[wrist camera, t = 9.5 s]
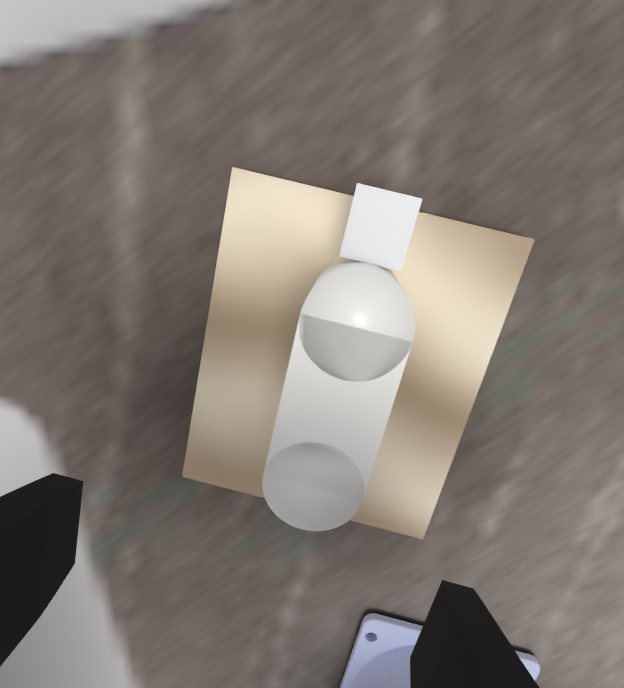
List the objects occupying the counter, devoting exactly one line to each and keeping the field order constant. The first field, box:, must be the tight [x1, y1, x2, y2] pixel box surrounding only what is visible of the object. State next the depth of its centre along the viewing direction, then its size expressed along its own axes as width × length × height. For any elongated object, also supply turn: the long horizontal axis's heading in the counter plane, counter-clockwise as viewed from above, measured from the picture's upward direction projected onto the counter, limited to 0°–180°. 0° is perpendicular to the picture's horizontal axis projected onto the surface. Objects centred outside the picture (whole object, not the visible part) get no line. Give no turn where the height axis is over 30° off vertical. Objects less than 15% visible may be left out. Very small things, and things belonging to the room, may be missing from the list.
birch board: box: [182, 167, 535, 539], centre depth 17 cm, size 12×10×1 cm
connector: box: [262, 183, 422, 531], centre depth 14 cm, size 10×3×4 cm, turn 167°
